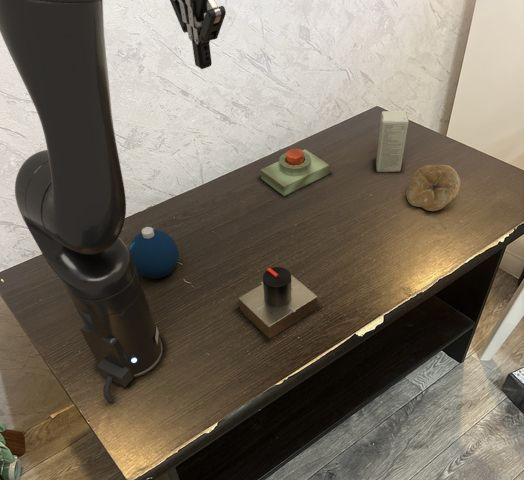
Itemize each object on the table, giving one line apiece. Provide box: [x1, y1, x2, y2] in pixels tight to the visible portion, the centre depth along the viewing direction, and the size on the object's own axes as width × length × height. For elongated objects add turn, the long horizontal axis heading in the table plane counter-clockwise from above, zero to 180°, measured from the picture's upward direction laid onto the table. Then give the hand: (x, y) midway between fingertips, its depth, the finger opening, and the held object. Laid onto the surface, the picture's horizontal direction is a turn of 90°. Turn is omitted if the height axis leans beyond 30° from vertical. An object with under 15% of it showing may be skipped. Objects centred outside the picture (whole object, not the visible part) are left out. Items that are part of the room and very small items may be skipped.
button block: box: [260, 148, 330, 197], centre depth 105 cm, size 12×8×4 cm, turn 126°
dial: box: [262, 266, 292, 307], centre depth 79 cm, size 4×4×5 cm
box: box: [375, 110, 410, 173], centre depth 103 cm, size 5×4×11 cm
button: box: [285, 148, 304, 165], centre depth 103 cm, size 4×4×2 cm
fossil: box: [405, 164, 462, 212], centre depth 97 cm, size 9×4×10 cm
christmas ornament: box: [128, 226, 179, 279], centre depth 86 cm, size 8×8×10 cm
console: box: [238, 274, 318, 340], centre depth 82 cm, size 10×9×3 cm
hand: (203, 66), depth 80 cm, fingers closed
